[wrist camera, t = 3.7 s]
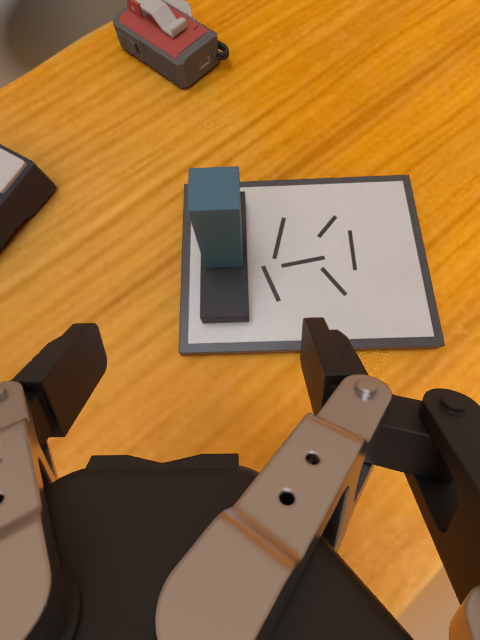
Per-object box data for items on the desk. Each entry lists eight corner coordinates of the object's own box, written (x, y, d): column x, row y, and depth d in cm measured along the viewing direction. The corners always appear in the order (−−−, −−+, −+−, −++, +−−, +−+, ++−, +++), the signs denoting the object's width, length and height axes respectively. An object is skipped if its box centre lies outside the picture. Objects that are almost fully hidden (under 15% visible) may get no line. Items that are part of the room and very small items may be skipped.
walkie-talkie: (242, 55, 38) (130, -15, 42) (241, 10, 34) (117, -63, 38) (190, 98, 36) (79, 21, 40) (182, 56, 32) (59, -25, 36)
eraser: (249, 322, 27) (248, 275, 18) (202, 323, 27) (178, 277, 18) (245, 202, 31) (243, 112, 21) (203, 203, 31) (184, 114, 22)
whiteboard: (437, 348, 27) (446, 345, 26) (181, 355, 28) (178, 353, 27) (404, 182, 32) (409, 173, 31) (186, 191, 33) (183, 182, 31)
